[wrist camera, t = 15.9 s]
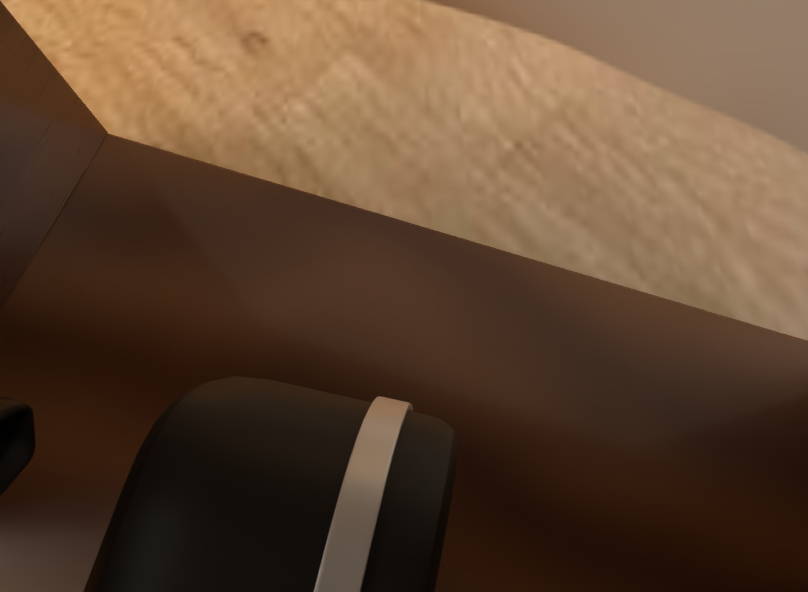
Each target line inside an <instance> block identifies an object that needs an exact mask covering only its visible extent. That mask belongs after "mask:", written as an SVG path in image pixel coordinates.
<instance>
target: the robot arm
mask: <svg viewBox="0 0 808 592" xmlns="http://www.w3.org/2000/svg"><path fill="white" fill-rule="evenodd" d="M35 449H36V440H35V427H34V414H33V410H32V408H31V407H30V405H28V404H26V403H23V402H21V401H18V400H15V399H13V398H10V397H0V496H1V495H2V494H3V493H4V491H5V490H6V489H7V488H8V487H9V486H10V485H11V483H12V482H13V481H14V480H15V479H16V478H17V476H18V475H19V474H20V473H21V472H22V471H23V470H24V468H25V467H26V466H27V465H28V464H29V462H30V461H31V459H32V457H33V455H34V453H35Z"/></svg>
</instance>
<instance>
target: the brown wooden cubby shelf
mask: <svg viewBox="0 0 808 592" xmlns="http://www.w3.org/2000/svg"><path fill="white" fill-rule="evenodd" d="M232 376H240V377H249V378H259V379H268V380H274V381H278V382H283V383H288V384H292V385H296V386H301V387H305V388H310V389H314V390H319V391H323V392H328V393H332V394H337V395H341V396H346V397H350V398H354V399H359V400H363V401H368V402H373V401H374V400H375V399H376V397H386V398H390V399H395V400H399V401H404V402H408V403H411V405H412V407H413V412H417V413H421V414H426V415H430V416H433V417H436V418H438V419H441V420H444V421H445V422H446V423H447V424H448V425H449V426H451V427H452V428H453V429H454V431H455V434H456V436H457V439H458V456H457V468H456V475H455V482H454V489H453V495H452V500H451V506H450V512H449V518H448V524H447V529H446V535H445V540H444V545H443V551H442V556H441V562H440V567H439V573H438V578H437V583H436V588H435V592H808V341H806V340H802V339H799V338H796V337H792V336H789V335H786V334H782V333H779V332H775V331H772V330H769V329H765V328H762V327H759V326H755V325H752V324H749V323H745V322H742V321H738V320H735V319H732V318H728V317H725V316H722V315H718V314H715V313H711V312H708V311H705V310H701V309H698V308H695V307H691V306H688V305H684V304H681V303H678V302H674V301H671V300H668V299H664V298H661V297H657V296H654V295H651V294H647V293H644V292H641V291H637V290H634V289H630V288H627V287H624V286H620V285H617V284H614V283H610V282H607V281H603V280H600V279H597V278H593V277H590V276H587V275H583V274H580V273H576V272H573V271H570V270H566V269H563V268H560V267H556V266H553V265H549V264H546V263H543V262H539V261H536V260H533V259H529V258H526V257H522V256H519V255H516V254H512V253H509V252H506V251H502V250H499V249H496V248H492V247H489V246H485V245H482V244H479V243H475V242H472V241H469V240H465V239H462V238H458V237H455V236H452V235H448V234H445V233H442V232H438V231H435V230H431V229H428V228H425V227H421V226H418V225H415V224H411V223H408V222H404V221H401V220H398V219H394V218H391V217H388V216H384V215H381V214H377V213H374V212H371V211H367V210H364V209H361V208H357V207H354V206H350V205H347V204H344V203H340V202H337V201H334V200H330V199H327V198H323V197H320V196H317V195H313V194H310V193H307V192H303V191H300V190H296V189H293V188H290V187H286V186H283V185H280V184H276V183H273V182H269V181H266V180H263V179H259V178H256V177H253V176H249V175H246V174H243V173H239V172H236V171H232V170H229V169H226V168H222V167H219V166H216V165H212V164H209V163H205V162H202V161H199V160H195V159H192V158H189V157H185V156H182V155H178V154H175V153H172V152H168V151H165V150H162V149H158V148H155V147H151V146H148V145H145V144H141V143H138V142H135V141H131V140H128V139H124V138H121V137H118V136H114V135H111V134H108V132H107V131H106V130H105V129H104V127H103V126H102V125H101V124H100V122H99V121H98V120H97V119H96V117H95V116H94V115H93V114H92V113H91V111H90V110H89V109H88V108H87V106H86V105H85V104H84V103H83V102H82V100H81V99H80V98H79V97H78V95H77V94H76V93H75V92H74V91H73V89H72V88H71V87H70V86H69V84H68V83H67V82H66V81H65V79H64V78H63V77H62V76H61V75H60V73H59V72H58V71H57V70H56V68H55V67H54V66H53V65H52V64H51V62H50V61H49V60H48V59H47V57H46V56H45V55H44V54H43V53H42V51H41V50H40V49H39V48H38V46H37V45H36V44H35V43H34V41H33V40H32V39H31V38H30V37H29V35H28V34H27V33H26V32H25V30H24V29H23V28H22V27H21V26H20V24H19V23H18V22H17V21H16V19H15V18H14V17H13V16H12V15H11V13H10V12H9V11H8V10H7V8H6V7H5V6H4V5H3V3H2V2H1V1H0V397H10V398H13V399H15V400H18V401H21V402H23V403H26V404H28V405H30V407H31V408H32V410H33V414H34V427H35V440H36V449H35V453H34V455H33V457H32V459H31V461H30V462H29V464H28V465H27V466H26V467H25V468H24V470H23V471H22V472H21V473H20V474H19V475H18V476H17V478H16V479H15V480H14V481H13V482H12V483H11V485H10V486H9V487H8V488H7V489H6V490H5V491H4V493H3V494H2V495H1V496H0V592H83V591H84V588H85V586H86V583H87V581H88V578H89V575H90V573H91V570H92V567H93V565H94V562H95V560H96V557H97V554H98V552H99V549H100V546H101V544H102V541H103V538H104V536H105V533H106V531H107V528H108V525H109V523H110V520H111V517H112V515H113V512H114V510H115V507H116V504H117V502H118V499H119V496H120V494H121V491H122V489H123V486H124V484H125V481H126V479H127V477H128V474H129V472H130V469H131V467H132V465H133V462H134V460H135V458H136V455H137V453H138V451H139V449H140V447H141V445H142V444H143V442H144V440H145V438H146V436H147V435H148V433H149V431H150V429H151V428H152V426H153V424H154V422H155V421H156V420H157V419H158V418H159V416H160V415H161V414H162V413H163V412H164V411H165V410H166V409H167V407H168V406H169V405H170V404H171V403H173V402H174V401H176V400H177V399H179V398H180V397H182V396H183V395H184V394H186V393H187V392H189V391H190V390H192V389H194V388H196V387H198V386H200V385H202V384H204V383H206V382H210V381H214V380H219V379H223V378H228V377H232Z"/></svg>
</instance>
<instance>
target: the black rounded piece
mask: <svg viewBox="0 0 808 592" xmlns="http://www.w3.org/2000/svg"><path fill="white" fill-rule="evenodd" d="M457 456H458V439H457V436H456V434H455V431H454V429H453V428H452V427H451V426H449V425H448V424H447V423H446V422H445V421H444V420H441V419H438V418H436V417H433V416H430V415H426V414H421V413H417V412H413V407H412V405H411V403H408V402H404V401H399V400H395V399H390V398H386V397H376V399H375V400H374V401H373V402H368V401H363V400H359V399H354V398H350V397H346V396H341V395H337V394H332V393H328V392H323V391H319V390H314V389H310V388H305V387H301V386H296V385H292V384H288V383H283V382H278V381H274V380H268V379H259V378H249V377H240V376H232V377H228V378H223V379H219V380H214V381H210V382H206V383H204V384H202V385H200V386H198V387H196V388H194V389H192V390H190V391H189V392H187V393H186V394H184V395H183V396H182V397H180V398H179V399H177V400H176V401H174V402H173V403H171V404H170V405H169V406H168V407H167V409H166V410H165V411H164V412H163V413H162V414H161V415H160V416H159V418H158V419H157V420H156V421H155V422H154V424H153V426H152V428H151V429H150V431H149V433H148V435H147V436H146V438H145V440H144V442H143V444H142V445H141V447H140V449H139V451H138V453H137V455H136V458H135V460H134V462H133V465H132V467H131V469H130V472H129V474H128V477H127V479H126V481H125V484H124V486H123V489H122V491H121V494H120V496H119V499H118V502H117V504H116V507H115V510H114V512H113V515H112V517H111V520H110V523H109V525H108V528H107V531H106V533H105V536H104V538H103V541H102V544H101V546H100V549H99V552H98V554H97V557H96V560H95V562H94V565H93V567H92V570H91V573H90V575H89V578H88V581H87V583H86V586H85V588H84V591H83V592H435V588H436V583H437V578H438V573H439V567H440V562H441V556H442V551H443V545H444V540H445V535H446V529H447V524H448V518H449V512H450V506H451V500H452V495H453V489H454V482H455V475H456V468H457Z"/></svg>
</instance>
